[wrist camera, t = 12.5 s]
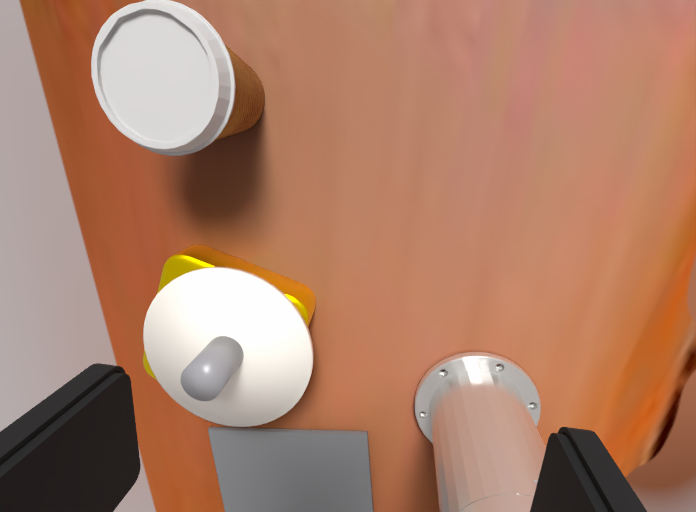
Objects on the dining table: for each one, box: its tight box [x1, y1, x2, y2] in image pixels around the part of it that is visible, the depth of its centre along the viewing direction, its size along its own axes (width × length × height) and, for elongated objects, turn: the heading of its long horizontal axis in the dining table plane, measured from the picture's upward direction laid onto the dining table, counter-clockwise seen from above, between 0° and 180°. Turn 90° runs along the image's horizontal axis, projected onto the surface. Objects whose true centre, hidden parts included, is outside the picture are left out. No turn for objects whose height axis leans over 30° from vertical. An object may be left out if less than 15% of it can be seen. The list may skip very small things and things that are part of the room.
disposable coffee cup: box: [92, 0, 265, 156], centre depth 31 cm, size 10×10×12 cm
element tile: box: [143, 245, 316, 380], centre depth 42 cm, size 15×15×5 cm
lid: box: [144, 267, 314, 427], centre depth 36 cm, size 17×17×6 cm
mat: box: [208, 427, 373, 512], centre depth 49 cm, size 19×19×1 cm
